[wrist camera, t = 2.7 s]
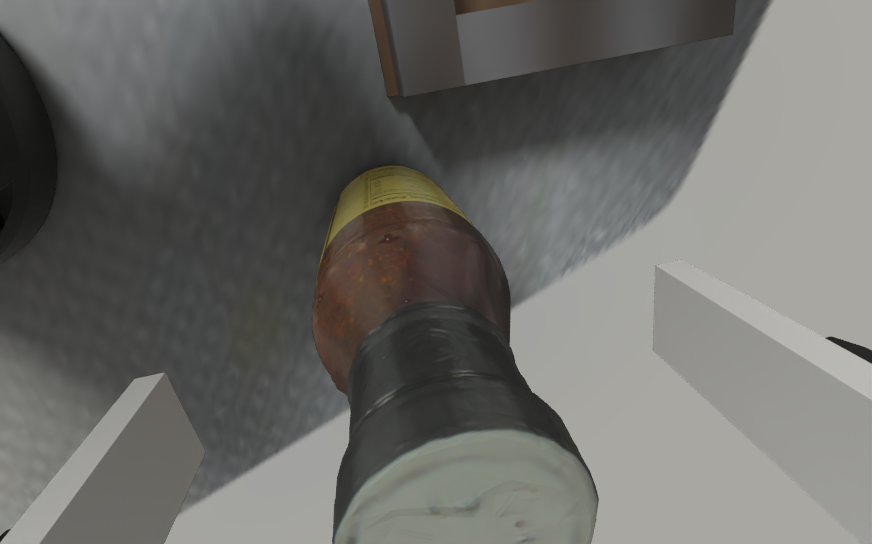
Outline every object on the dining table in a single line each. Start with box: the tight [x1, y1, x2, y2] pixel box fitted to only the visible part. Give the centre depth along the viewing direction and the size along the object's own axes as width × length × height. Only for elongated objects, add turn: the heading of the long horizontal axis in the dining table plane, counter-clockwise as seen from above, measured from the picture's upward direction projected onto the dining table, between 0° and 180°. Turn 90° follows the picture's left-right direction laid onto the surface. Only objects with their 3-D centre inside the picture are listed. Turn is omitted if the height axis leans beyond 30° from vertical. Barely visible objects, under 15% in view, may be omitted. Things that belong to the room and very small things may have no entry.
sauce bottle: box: [312, 166, 599, 544], centre depth 16 cm, size 7×6×20 cm
